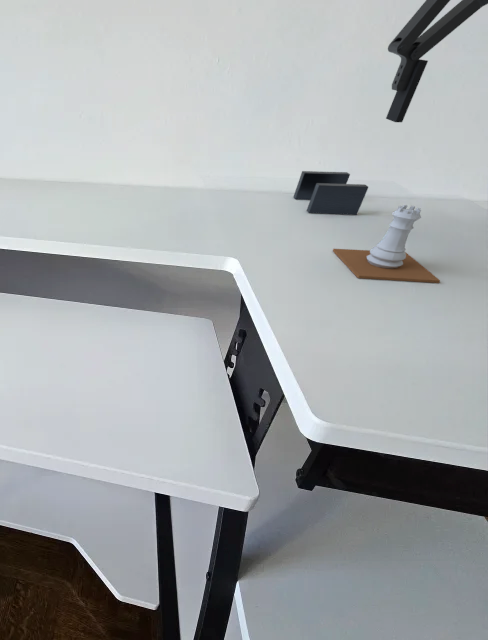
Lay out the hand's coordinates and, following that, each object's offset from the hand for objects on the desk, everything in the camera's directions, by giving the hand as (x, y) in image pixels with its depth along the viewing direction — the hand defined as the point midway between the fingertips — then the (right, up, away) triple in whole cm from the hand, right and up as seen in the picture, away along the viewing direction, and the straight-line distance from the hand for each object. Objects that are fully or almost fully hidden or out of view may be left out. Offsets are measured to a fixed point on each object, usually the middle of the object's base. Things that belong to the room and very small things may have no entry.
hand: (454, 120), depth 61 cm
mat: (-1, -16, +10) cm, 19 cm away
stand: (+6, +1, +33) cm, 33 cm away
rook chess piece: (-1, -16, +10) cm, 19 cm away
